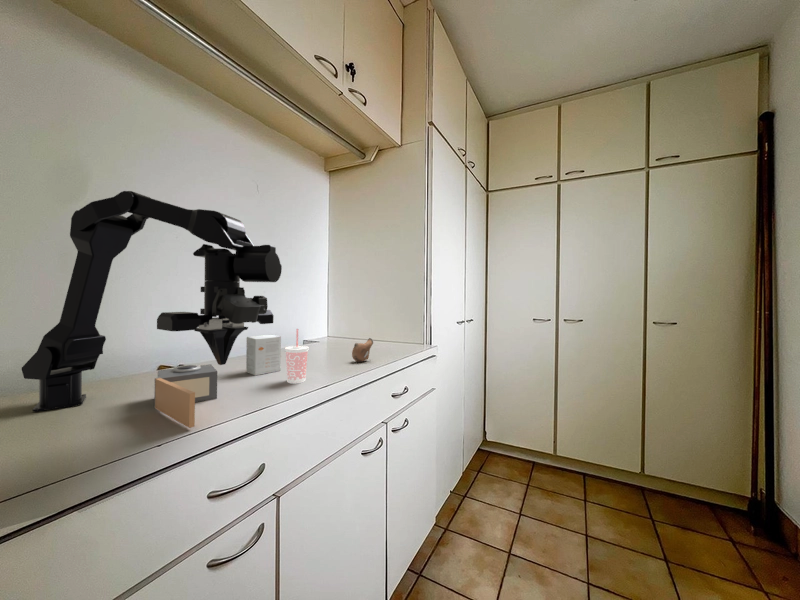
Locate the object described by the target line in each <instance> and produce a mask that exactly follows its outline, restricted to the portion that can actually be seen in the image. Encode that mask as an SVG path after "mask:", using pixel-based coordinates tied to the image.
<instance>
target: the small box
mask: <svg viewBox="0 0 800 600" xmlns="http://www.w3.org/2000/svg"><path fill="white" fill-rule="evenodd" d="M245 355H246V362H245V363H246V368H245V370H246V373H248V374H250V375H252V376H259V375H264V374H270V373H274V372H280V371H281V370H282V368H281V366H282V365H281V364H282V336H280V335H276V334H263V335H252V336H247V337H246V354H245Z"/></svg>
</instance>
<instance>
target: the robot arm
mask: <svg viewBox="0 0 800 600" xmlns="http://www.w3.org/2000/svg"><path fill="white" fill-rule="evenodd" d="M127 213H129V214H130V215H129V216H127V217H126V216H124V215H125V214H127ZM148 219H153V220H156V221H159V222H161V223H162V222H163V223H165V224H169V225H172V226H176V227H180V228H182V229H184V230H185V231H188V232H189V233H190V234H192V235H193V236H195V237H197V238H199V239H200V240H203V241H204V242H206V243H209V244H205V243H203V244H202V245H201V246H200V247H199V248H198V249H196V250H195V251H193V252H192V254H193V256H194V257H199V258H204V284H203V285H204V286H200V293H204V297H203V299H204V302H203V303H204V305H203V308H200V314H199V313H198V312H191V311H171V312H170V311H169V312H161V313H160V314H159V315H158V317H157V319H156V330H162V331H168V332H186V331H194V332H197V333H198V332H199V333H200V334H201V336H202V337H203V339H204V340H205V342H206V343H207V345H208V347H209V349H210V351H211V353H212V355H213V357H214V359H215V362H217V365H219V366H223V365H226V363H227V361H228V359H229V357H230V353H231V351H232V350H233V349H232V348H233V346H234V344H235V342H236V340H237V338H238V336H239V335H240V334H242V332H244V331H247V330H248V329H249V326H245V323H252V324H254V323H258V324H260V325H268V324H269V325H270V324H274V319H275V318H274V317H275V316H274V314H273V312H272V311H271V310H270V309H268V298H267V297H266V296H264V295H253V297H246V295H245V294H246V293H245V292H246V291H245V287H243V286H240V281H242V282H245V283H276V282H278V281H279V280H280V278H281V274H282V268H283V267H282V264H281V260H280V257H279V255H278V253H277V251H276V250H277V249H276V246H275V245H271V244H262V245H254V243H253V242H252V240H251V239H250V237H249V236H248V234H247V232H246V227H245V225H244V223H243V222H242V221H241V220H239V219H237V218H235V217H232V216H230V215H227V214H224V213H222V212H220V211H217V210H210V209H200V208H198V209H188V208H185V207H181V206H178V205H175V204H170V203H168V202H165V201H161V200H158V199H155V198H152V197H150V196H148V195H147V196H146V195H144V194H141V193H138V192H136V191H132V190H123V191H121V192H119V193H118V194H116V195H114V196H112V197H108V198H107V197H106V198H101V199H98V200H93V201H91V202H89V203H87V204H86V205H85V206H83V207H82V208H80V209H79V210H75V211H74V212H73V214H72V216H71V218H70V228H69V229H70V231H69V237H70V239H71V241H72V243H73V245H74V247H75V249H76V251H77V253H76V258H75V260H74V264H73V269H72V273H71V277H70V281H69V285H68V288H67V293H66V295H65V300H64V303H63V307H62V311H61V315H60V319H59V321H58V323H57V324H56V325H54V326H53V327H52V328H51V329H50V330H49V331H48V332H46V333H45V334H44V335H43V337H42V339H41V342H40V343H39V346H38V348H37V351H36V352H35V353H34V354H33V355H32V356H31V357H30V358H29V359H28V360H27V362H25V363H24V364H23V366H21V372H22V375H23V378H24V379H25V380H39V382H38V383H39V385H38V387H39V391H38V392H39V396H38V397H39V401H38V403H36V405H35V406H34V407H33V408H32V412H36V413H37V412H41V411H47V410H55V409H56V410H57V409H62V408H68V407H73V406H76V407H77V406H82V405H83V403H84V402H85V400H86V398H87V394H86V393H84V394H82V393H83V391H82V389H83V387H82V386H83V385H82V382H83V381H82V379H83V378H82V377H83V373H82V372H84V371H85V372H87V371H91V370H92V371H93V370H95V368H96V365H97V363H98V359H99V357H100V355H103V354H104V349H103V348H104V345H105V342H106V341H107V338H106V336H105V335H101V334H100V332H99V330H98V328H97V327H96V325H97V320H98V316H99V312H100V309H101V304H102V300H103V297H104V293H105V290H106V286H107V283H108V278H109V275H110V271H111V268H112V264H113V260H114V259H115V258H116V257H118V255H119V254H121V253H122V252H123V251H124V250H125V249H126V248H127V246H128V245H129V243H130V240H131V238H132V236H134V235H135V234H137V233H139V232H140V231H141V230H143V229H144V228H145V225H146V223H147V220H148ZM210 244H215V245H218V246H219V247H220V248H215V247H214V246H213V245H210ZM231 250H232V251H235V253H232V251H231Z"/></svg>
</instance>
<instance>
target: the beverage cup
mask: <svg viewBox="0 0 800 600" xmlns="http://www.w3.org/2000/svg"><path fill="white" fill-rule="evenodd" d="M295 332H296V334H295V335H296V336H295V338H296V341H295V345H289V346H286V347H284V352H285V358H286V359H285V361H286V381H287V383H289V384H294V385H295V384H301V383H305V382H306V377H307V367H308V366H307V365H308V355H309V354H308V352H309V349H310V347H309V346H307V345H299V328H296V331H295ZM304 381H305V382H304Z"/></svg>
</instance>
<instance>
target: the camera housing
mask: <svg viewBox="0 0 800 600" xmlns="http://www.w3.org/2000/svg"><path fill="white" fill-rule="evenodd" d="M157 378H162V379H164V380H167V381H169V382H171V383H174V384H176V385H178V386H181V387H183V388H185V389H188V390H190V391H193V392H195V403H198V401H199V402H204V400H205V401H209V400H210V399H211V400H215V399H218V370H217V369H216V368H215V367H214V366H213V365H212V364H201V365H199V364H187V365H179V366H176V367H174V368H165V369H157Z"/></svg>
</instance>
